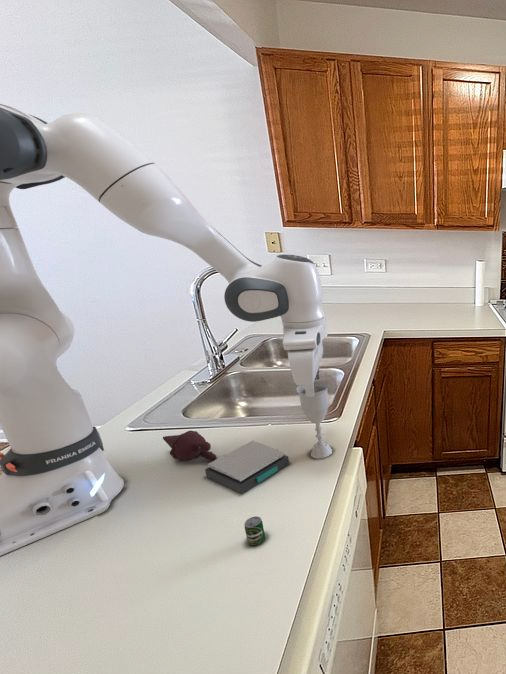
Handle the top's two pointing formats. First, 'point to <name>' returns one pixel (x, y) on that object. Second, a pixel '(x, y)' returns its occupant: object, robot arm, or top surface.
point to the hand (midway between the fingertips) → (313, 386)
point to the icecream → (189, 446)
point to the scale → (249, 481)
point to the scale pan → (246, 460)
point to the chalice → (316, 414)
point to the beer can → (254, 530)
